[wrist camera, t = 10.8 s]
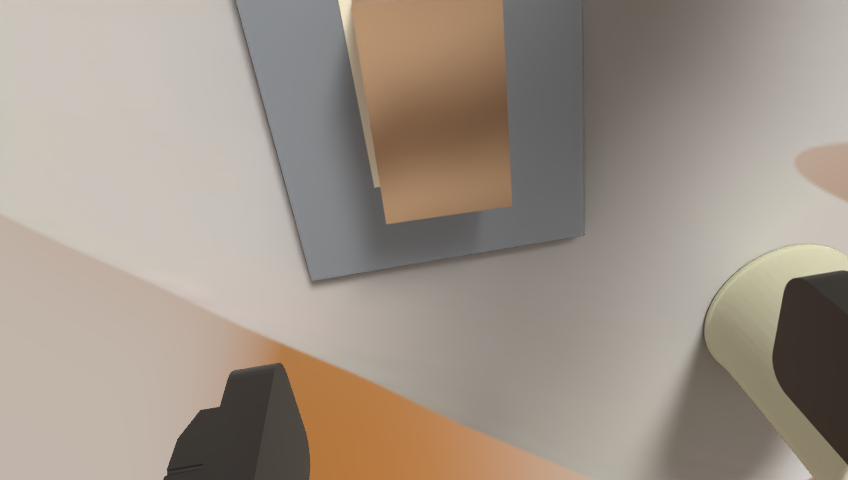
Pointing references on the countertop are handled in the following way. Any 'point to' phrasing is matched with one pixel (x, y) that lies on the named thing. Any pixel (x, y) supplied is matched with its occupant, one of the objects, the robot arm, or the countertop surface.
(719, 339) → the can
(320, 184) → the board
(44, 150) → the countertop surface
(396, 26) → the walnut brick
